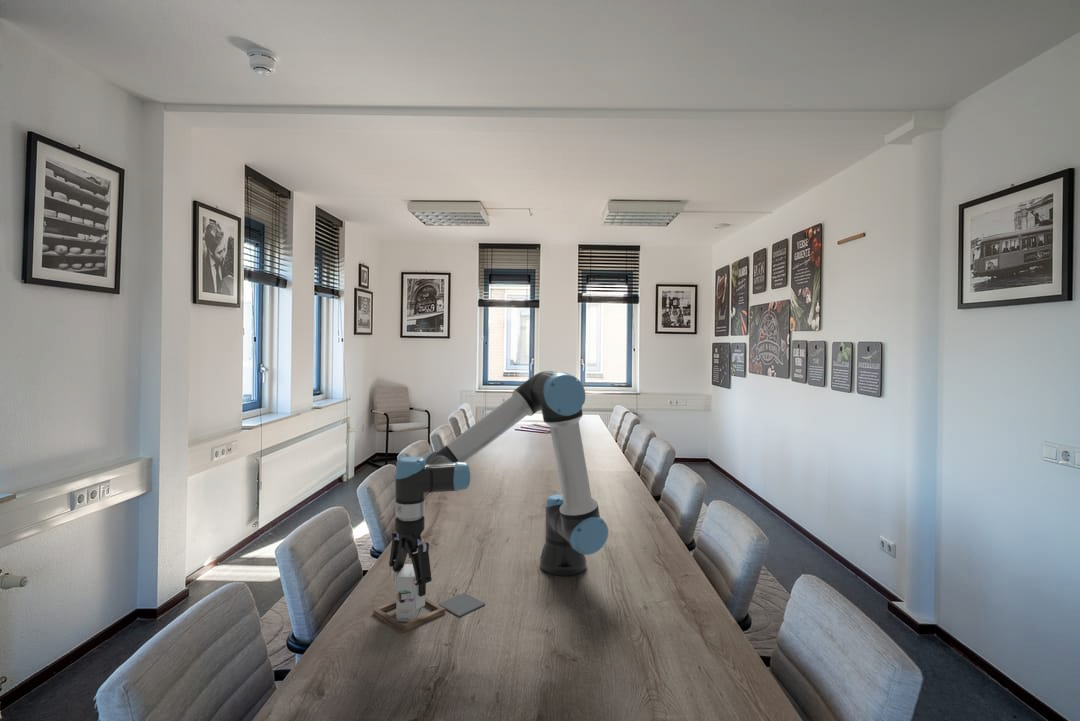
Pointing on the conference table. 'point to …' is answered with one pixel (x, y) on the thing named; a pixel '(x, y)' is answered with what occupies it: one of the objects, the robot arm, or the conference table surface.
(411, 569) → the ink box
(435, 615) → the walnut holder
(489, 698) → the conference table surface
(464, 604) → the felt mat
